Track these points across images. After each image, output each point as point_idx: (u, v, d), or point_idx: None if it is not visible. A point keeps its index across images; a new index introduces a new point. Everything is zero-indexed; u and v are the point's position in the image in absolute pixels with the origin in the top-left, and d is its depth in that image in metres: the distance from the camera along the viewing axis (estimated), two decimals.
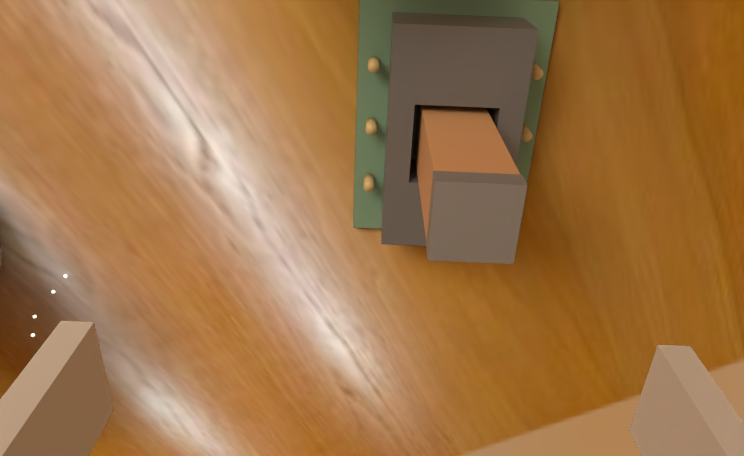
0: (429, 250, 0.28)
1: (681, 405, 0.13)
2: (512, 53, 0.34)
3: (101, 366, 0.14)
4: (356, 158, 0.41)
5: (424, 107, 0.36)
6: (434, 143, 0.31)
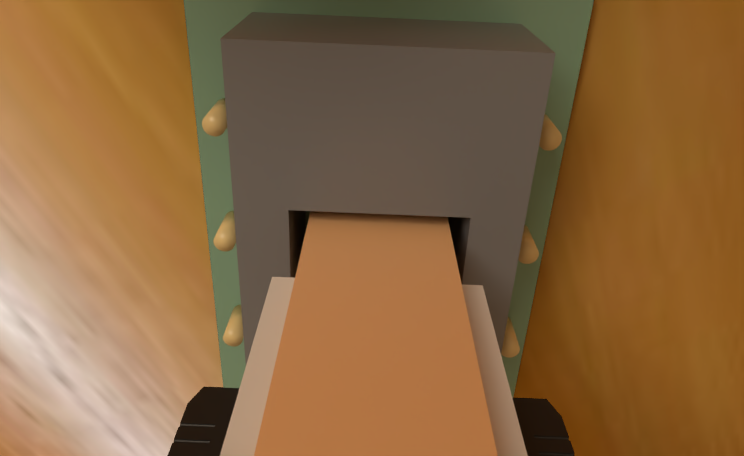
0: None
1: None
2: (494, 104, 0.15)
3: None
4: (214, 281, 0.22)
5: None
6: (293, 344, 0.12)
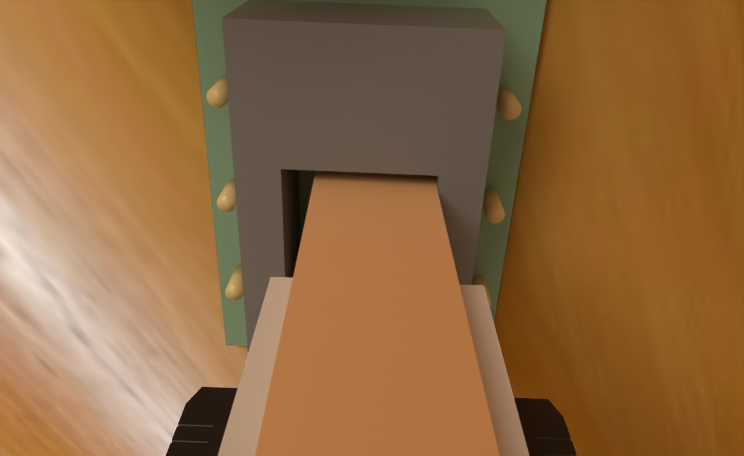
0: None
1: None
2: (456, 74, 0.17)
3: None
4: (218, 243, 0.25)
5: (315, 206, 0.18)
6: (294, 336, 0.12)
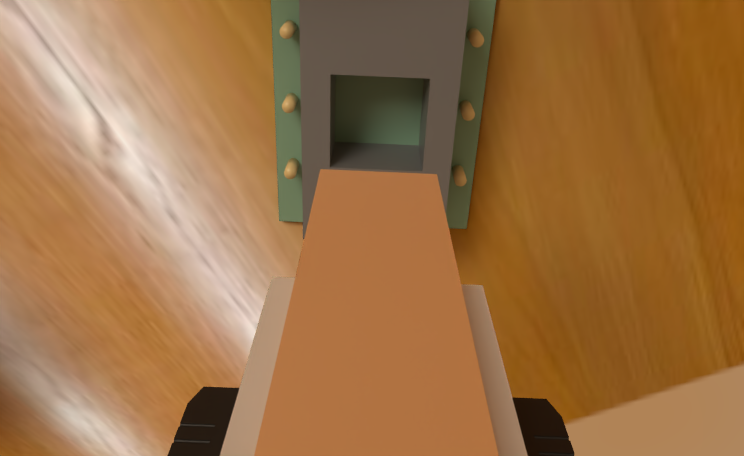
0: None
1: None
2: (440, 11, 0.28)
3: None
4: (277, 141, 0.36)
5: (319, 205, 0.18)
6: (296, 333, 0.13)
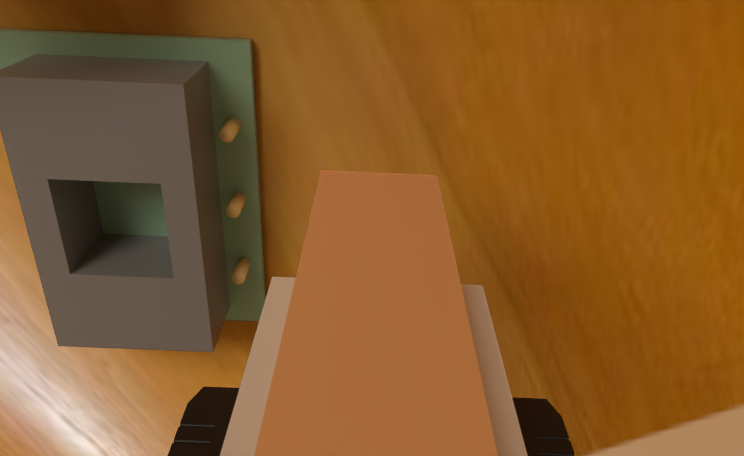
0: None
1: None
2: (155, 114, 0.25)
3: None
4: None
5: (319, 206, 0.18)
6: (296, 334, 0.13)
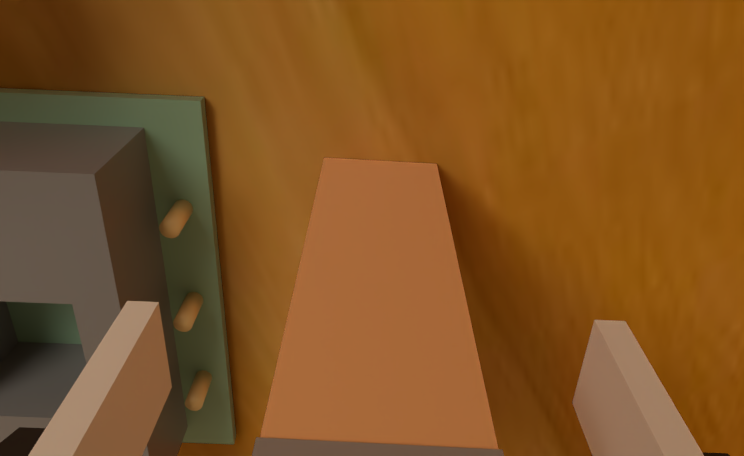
0: None
1: (611, 374, 0.13)
2: (57, 214, 0.17)
3: (163, 345, 0.15)
4: None
5: (322, 191, 0.19)
6: (302, 308, 0.13)
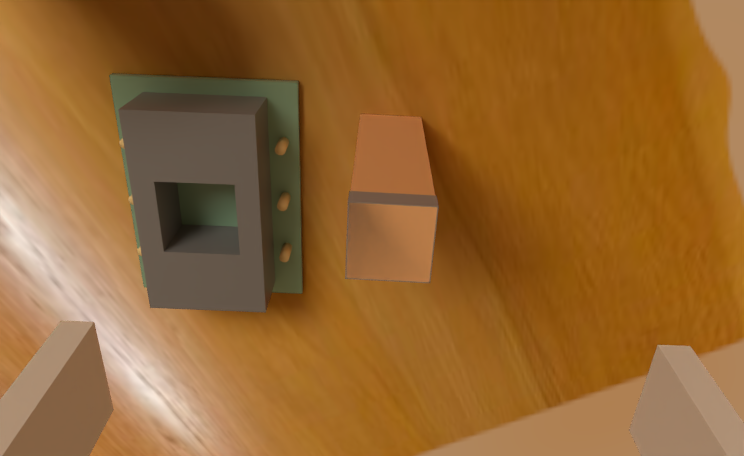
0: (346, 269, 0.29)
1: (681, 404, 0.13)
2: (234, 135, 0.36)
3: (101, 366, 0.14)
4: (134, 224, 0.43)
5: (362, 127, 0.37)
6: (359, 163, 0.32)
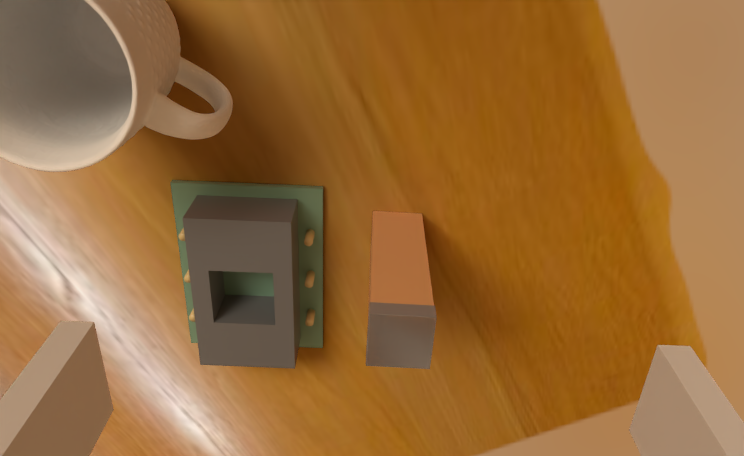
0: (367, 358, 0.38)
1: (681, 405, 0.13)
2: (274, 237, 0.45)
3: (102, 366, 0.14)
4: (185, 294, 0.52)
5: (375, 227, 0.46)
6: (375, 270, 0.41)
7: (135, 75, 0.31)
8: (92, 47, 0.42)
